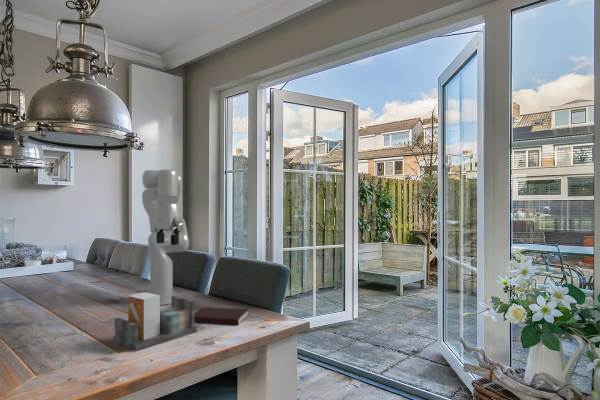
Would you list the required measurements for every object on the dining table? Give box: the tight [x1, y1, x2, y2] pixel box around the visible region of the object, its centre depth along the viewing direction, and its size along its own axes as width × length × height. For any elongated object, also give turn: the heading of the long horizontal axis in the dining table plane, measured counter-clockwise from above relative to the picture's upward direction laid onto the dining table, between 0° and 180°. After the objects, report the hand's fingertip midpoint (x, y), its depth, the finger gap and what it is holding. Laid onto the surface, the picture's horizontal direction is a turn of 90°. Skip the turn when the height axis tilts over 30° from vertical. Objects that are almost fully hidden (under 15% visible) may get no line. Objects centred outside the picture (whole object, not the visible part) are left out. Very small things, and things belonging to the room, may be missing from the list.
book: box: [195, 306, 250, 326], centre depth 147 cm, size 12×19×3 cm, turn 79°
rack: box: [112, 295, 197, 352], centre depth 128 cm, size 14×22×10 cm, turn 142°
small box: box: [127, 292, 161, 340], centre depth 125 cm, size 8×6×13 cm
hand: (167, 243), depth 152 cm, fingers open, 9 cm apart
